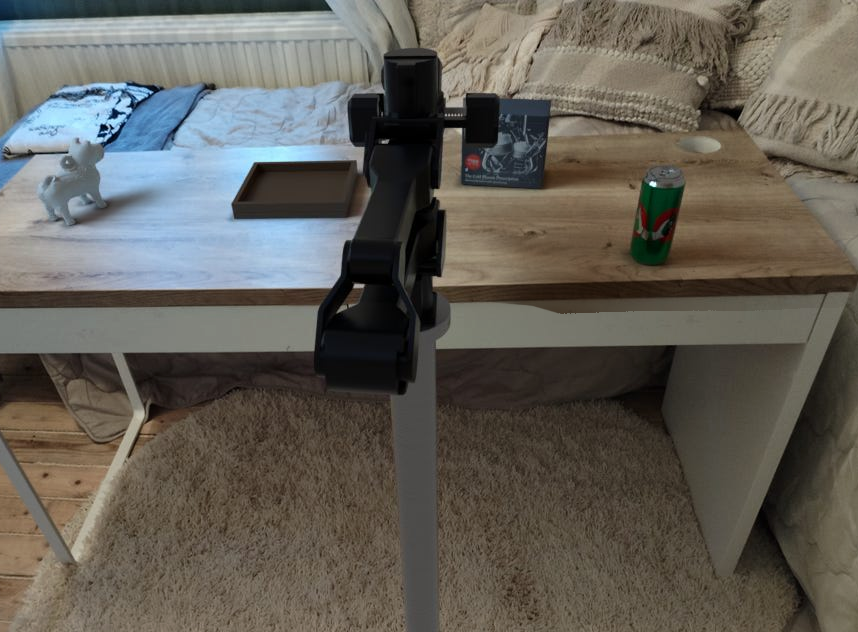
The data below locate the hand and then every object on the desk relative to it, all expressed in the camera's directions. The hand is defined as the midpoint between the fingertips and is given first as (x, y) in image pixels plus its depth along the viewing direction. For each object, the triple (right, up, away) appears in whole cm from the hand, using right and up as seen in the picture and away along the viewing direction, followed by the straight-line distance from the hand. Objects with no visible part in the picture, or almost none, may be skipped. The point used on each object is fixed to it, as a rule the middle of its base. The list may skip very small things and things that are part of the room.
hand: (430, 101), depth 95 cm
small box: (+13, -5, +21) cm, 25 cm away
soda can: (+29, -21, -1) cm, 36 cm away
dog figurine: (-55, -10, +21) cm, 60 cm away
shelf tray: (-20, -8, +20) cm, 29 cm away
